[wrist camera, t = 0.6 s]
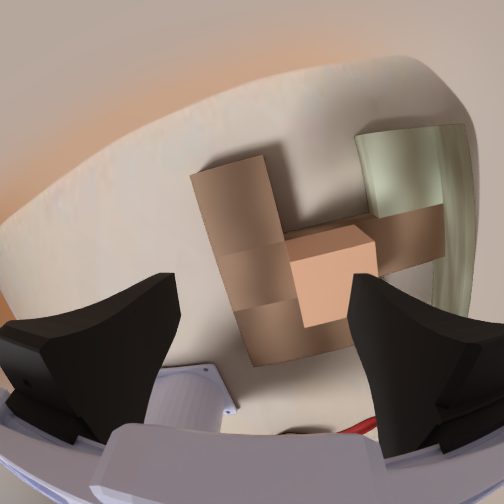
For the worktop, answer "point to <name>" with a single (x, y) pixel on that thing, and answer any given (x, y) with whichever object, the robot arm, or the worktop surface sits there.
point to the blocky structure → (372, 224)
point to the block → (329, 271)
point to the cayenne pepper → (362, 426)
